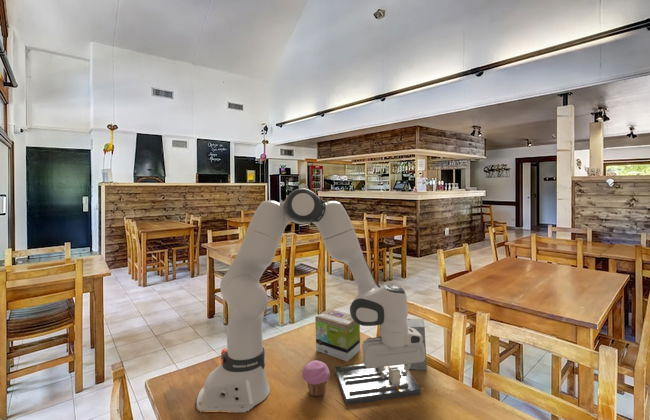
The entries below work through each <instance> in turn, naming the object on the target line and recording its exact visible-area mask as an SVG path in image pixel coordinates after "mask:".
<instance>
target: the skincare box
mask: <svg viewBox="0 0 650 420" xmlns="http://www.w3.org/2000/svg"><path fill="white" fill-rule="evenodd" d="M407 325H408V327H411V328H414V329H416V330H417V331H418V332H419V333H420V334H421V335H422V337H423V341H422V343H423V344H424V347H425V360H424V361H423V362H418V363H411V367H410V368H409V370H415V371H416V370H417V371H428V366H427V365H428V364H427V362H428V361H427V349H426V348H427V347H426V345H427V344H426V329H425V328H426V327H425V322H424V319H423V318H407Z"/></svg>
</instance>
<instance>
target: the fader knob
mask: <svg viewBox="0 0 650 420" xmlns="http://www.w3.org/2000/svg"><path fill="white" fill-rule="evenodd" d="M388 368H389V380H390V381H391V383H392V385H396V384H400V370H399V369H398V367H397V366H396V365H394V366H388Z"/></svg>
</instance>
